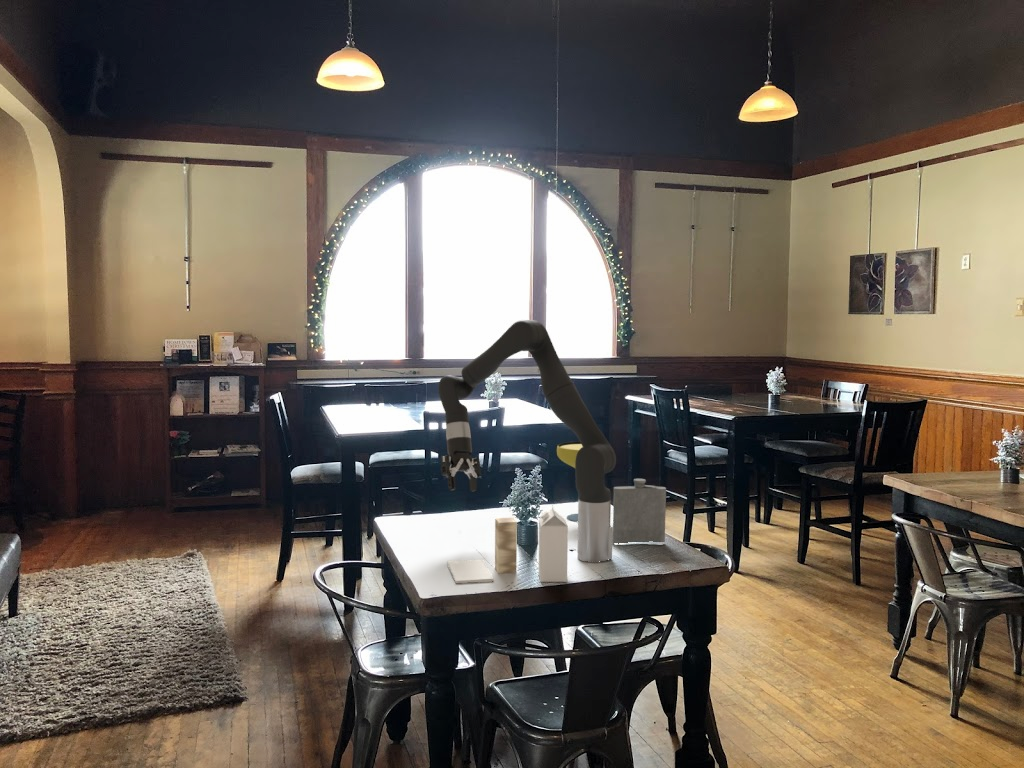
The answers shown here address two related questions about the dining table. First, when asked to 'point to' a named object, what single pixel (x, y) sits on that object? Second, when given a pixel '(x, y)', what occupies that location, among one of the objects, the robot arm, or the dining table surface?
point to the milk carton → (553, 547)
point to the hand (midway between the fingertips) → (463, 490)
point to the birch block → (505, 545)
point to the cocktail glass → (569, 461)
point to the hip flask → (639, 513)
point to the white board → (470, 571)
